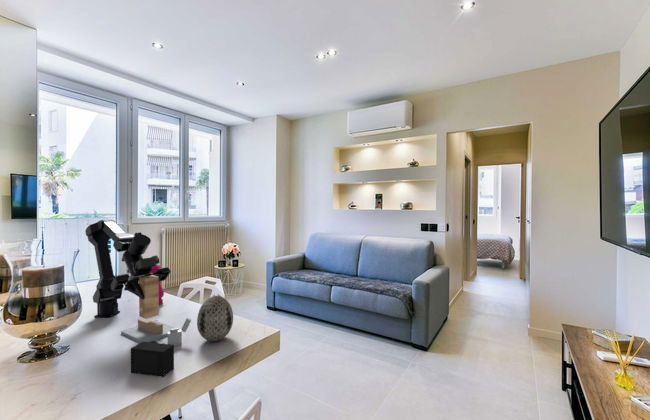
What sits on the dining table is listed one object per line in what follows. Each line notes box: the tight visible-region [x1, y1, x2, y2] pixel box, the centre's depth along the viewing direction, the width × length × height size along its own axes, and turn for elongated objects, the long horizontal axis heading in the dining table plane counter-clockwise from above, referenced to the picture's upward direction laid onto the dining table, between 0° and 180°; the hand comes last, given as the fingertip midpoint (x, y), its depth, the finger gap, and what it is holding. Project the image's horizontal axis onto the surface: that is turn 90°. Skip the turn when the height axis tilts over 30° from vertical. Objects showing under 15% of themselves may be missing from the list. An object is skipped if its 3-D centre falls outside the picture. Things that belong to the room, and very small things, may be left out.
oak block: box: [138, 275, 160, 319], centre depth 107 cm, size 4×4×14 cm
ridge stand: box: [120, 317, 180, 344], centre depth 107 cm, size 16×12×4 cm
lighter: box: [166, 317, 192, 347], centre depth 99 cm, size 7×2×8 cm, turn 119°
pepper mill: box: [150, 264, 165, 306], centre depth 138 cm, size 7×7×20 cm
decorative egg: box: [196, 295, 234, 342], centre depth 101 cm, size 12×12×15 cm
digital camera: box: [130, 340, 175, 378], centre depth 83 cm, size 10×5×7 cm, turn 79°
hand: (150, 296), depth 106 cm, fingers closed on oak block, 4 cm apart
